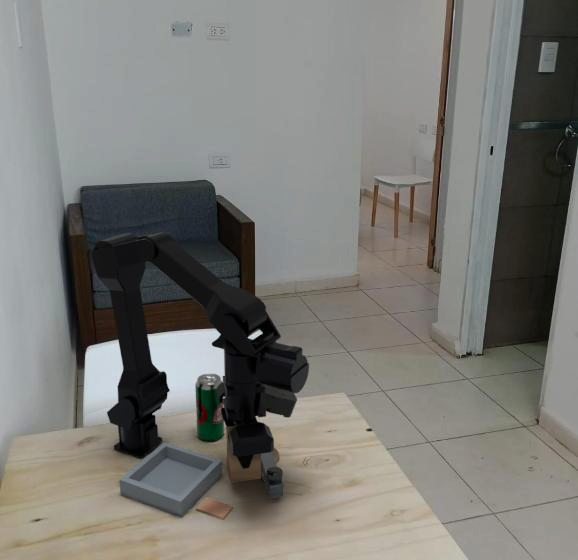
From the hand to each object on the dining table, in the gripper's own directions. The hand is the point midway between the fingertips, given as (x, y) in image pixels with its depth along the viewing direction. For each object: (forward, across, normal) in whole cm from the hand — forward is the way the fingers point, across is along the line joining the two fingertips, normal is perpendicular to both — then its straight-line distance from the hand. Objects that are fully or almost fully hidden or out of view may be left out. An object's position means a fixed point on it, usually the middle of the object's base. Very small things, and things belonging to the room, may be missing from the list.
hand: (243, 460), depth 102 cm
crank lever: (+4, +2, -4) cm, 6 cm away
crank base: (+5, +2, 0) cm, 5 cm away
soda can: (+5, +16, +4) cm, 17 cm away
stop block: (+3, 0, 0) cm, 3 cm away
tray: (+5, +3, +12) cm, 13 cm away
